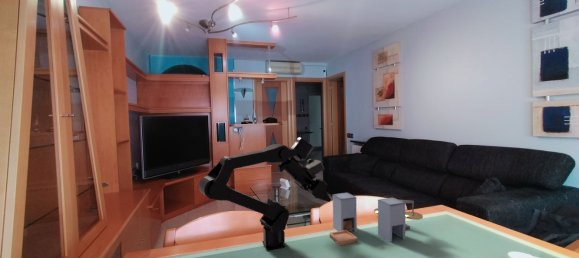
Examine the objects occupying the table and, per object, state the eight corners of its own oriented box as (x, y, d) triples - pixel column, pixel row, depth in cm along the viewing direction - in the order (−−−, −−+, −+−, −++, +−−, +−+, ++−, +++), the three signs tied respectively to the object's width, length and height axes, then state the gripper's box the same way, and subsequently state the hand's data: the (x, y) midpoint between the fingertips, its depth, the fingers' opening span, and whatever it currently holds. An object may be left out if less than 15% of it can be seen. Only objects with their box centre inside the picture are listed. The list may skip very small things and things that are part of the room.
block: (342, 232, 103) (342, 221, 103) (337, 228, 107) (337, 218, 107) (352, 230, 104) (351, 220, 104) (346, 226, 108) (346, 216, 108)
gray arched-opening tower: (389, 242, 94) (389, 205, 93) (378, 234, 100) (377, 199, 99) (405, 239, 96) (405, 202, 95) (392, 231, 102) (392, 197, 101)
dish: (339, 245, 92) (339, 241, 92) (329, 236, 99) (329, 232, 99) (357, 242, 95) (357, 237, 95) (346, 233, 101) (346, 229, 101)
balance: (412, 240, 95) (412, 204, 94) (370, 216, 117) (370, 187, 117) (426, 237, 97) (427, 202, 96) (383, 214, 120) (383, 186, 119)
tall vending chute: (341, 233, 101) (341, 199, 101) (333, 227, 108) (332, 194, 107) (356, 230, 104) (356, 197, 103) (347, 224, 110) (347, 192, 109)
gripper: (321, 157, 91) (351, 186, 95) (301, 150, 108) (326, 175, 112) (299, 183, 89) (330, 212, 93) (282, 172, 106) (309, 196, 110)
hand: (324, 197), depth 102 cm, fingers open, 9 cm apart
